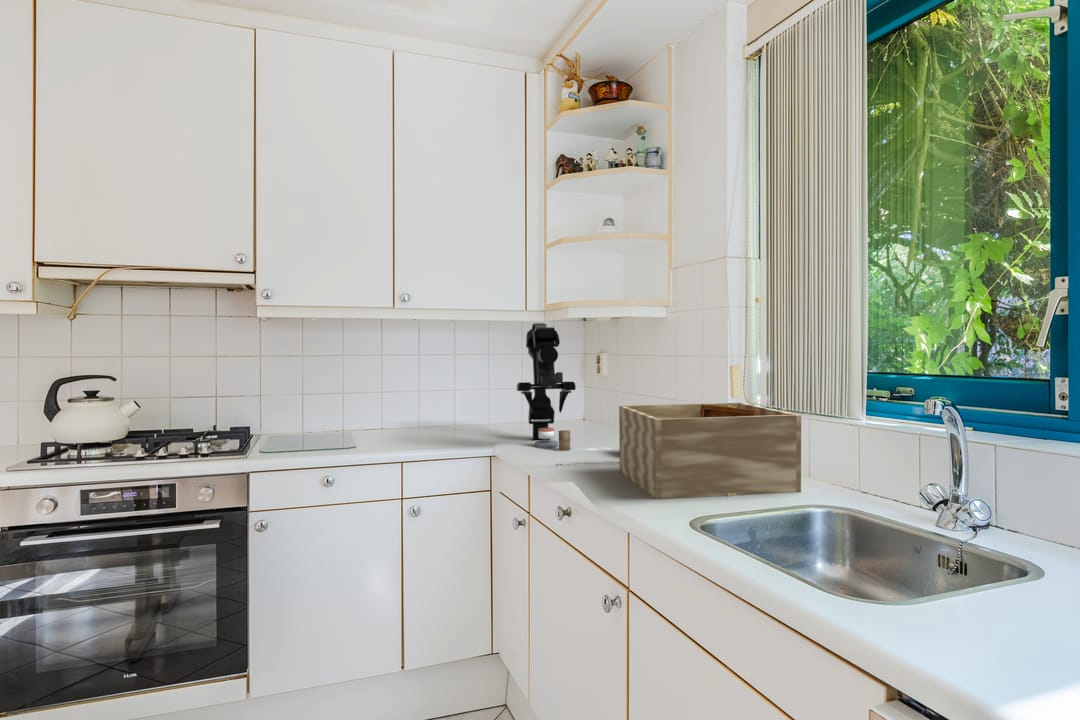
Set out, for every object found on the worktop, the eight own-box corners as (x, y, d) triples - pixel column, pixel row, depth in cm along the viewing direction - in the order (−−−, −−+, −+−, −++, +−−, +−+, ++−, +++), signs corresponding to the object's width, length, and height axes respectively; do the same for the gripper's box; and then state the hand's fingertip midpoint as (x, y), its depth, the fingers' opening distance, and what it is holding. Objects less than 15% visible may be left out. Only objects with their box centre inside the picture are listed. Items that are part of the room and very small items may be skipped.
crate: (619, 471, 166) (619, 405, 166) (741, 466, 172) (741, 402, 171) (656, 499, 137) (655, 419, 137) (800, 491, 143) (801, 415, 142)
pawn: (557, 449, 194) (557, 430, 194) (569, 448, 195) (568, 430, 195) (560, 451, 191) (559, 432, 190) (571, 450, 191) (571, 431, 191)
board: (532, 448, 203) (532, 440, 203) (602, 445, 207) (602, 438, 207) (539, 456, 189) (539, 448, 188) (614, 453, 192) (614, 445, 192)
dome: (537, 436, 202) (537, 427, 202) (552, 436, 203) (552, 427, 203) (539, 439, 197) (539, 430, 197) (555, 438, 198) (555, 429, 198)
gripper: (520, 364, 191) (521, 414, 190) (578, 363, 193) (579, 413, 193) (516, 366, 202) (517, 413, 201) (571, 365, 204) (572, 411, 204)
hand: (546, 412), depth 199 cm, fingers open, 9 cm apart
